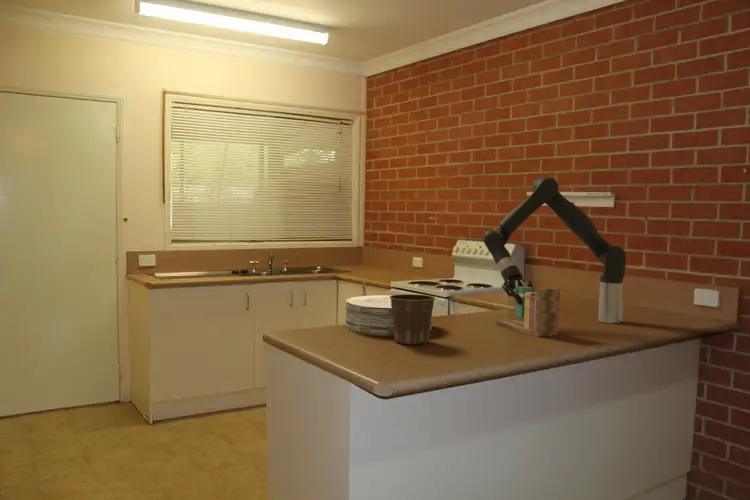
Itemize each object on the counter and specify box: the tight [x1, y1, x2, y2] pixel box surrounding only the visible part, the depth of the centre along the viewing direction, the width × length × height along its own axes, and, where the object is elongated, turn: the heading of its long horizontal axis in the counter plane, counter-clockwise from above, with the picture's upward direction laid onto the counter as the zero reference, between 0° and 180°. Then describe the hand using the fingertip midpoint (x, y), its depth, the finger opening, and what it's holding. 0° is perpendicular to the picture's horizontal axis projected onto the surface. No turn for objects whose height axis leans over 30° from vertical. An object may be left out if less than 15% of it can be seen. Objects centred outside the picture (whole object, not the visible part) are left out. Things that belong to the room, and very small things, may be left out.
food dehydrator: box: [345, 280, 433, 337], centre depth 249 cm, size 38×34×18 cm
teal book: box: [514, 286, 534, 319], centre depth 248 cm, size 5×4×12 cm
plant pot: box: [390, 293, 436, 346], centre depth 221 cm, size 16×16×16 cm
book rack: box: [496, 287, 561, 338], centre depth 247 cm, size 10×26×18 cm, turn 26°
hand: (526, 303), depth 247 cm, fingers closed on teal book, 5 cm apart
